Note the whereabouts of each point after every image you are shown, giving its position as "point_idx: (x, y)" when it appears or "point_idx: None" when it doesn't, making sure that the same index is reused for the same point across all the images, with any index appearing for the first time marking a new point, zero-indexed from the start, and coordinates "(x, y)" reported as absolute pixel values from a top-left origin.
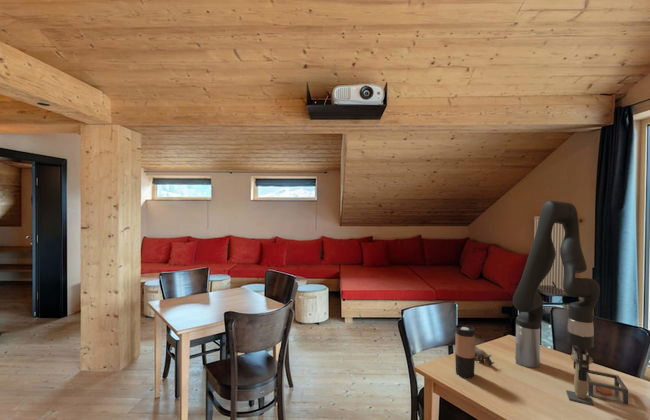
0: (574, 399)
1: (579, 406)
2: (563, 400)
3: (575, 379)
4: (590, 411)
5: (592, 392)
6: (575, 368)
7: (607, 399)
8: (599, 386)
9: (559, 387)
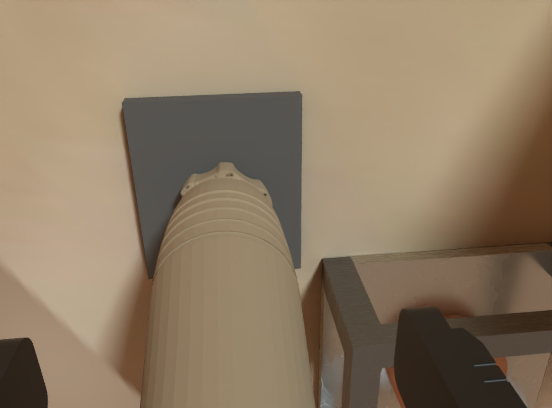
0: (130, 146)
1: (56, 169)
2: (75, 40)
3: (186, 258)
4: (28, 238)
5: (327, 300)
6: (215, 380)
7: (321, 358)
8: (342, 392)
9: (361, 33)
